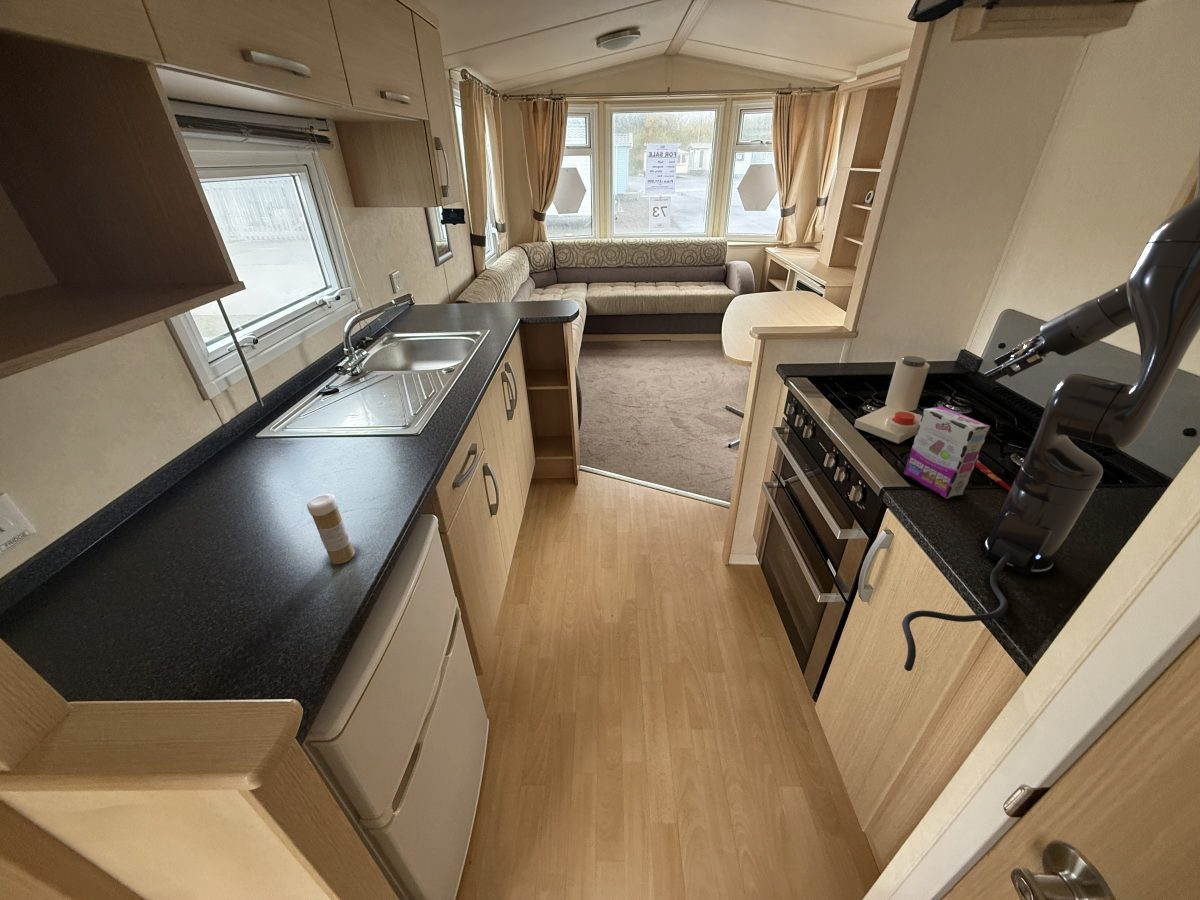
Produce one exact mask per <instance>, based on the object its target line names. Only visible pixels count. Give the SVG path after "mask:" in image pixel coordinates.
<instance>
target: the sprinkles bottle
mask: <svg viewBox="0 0 1200 900" xmlns="http://www.w3.org/2000/svg"><path fill="white" fill-rule="evenodd" d="M338 506H339V505H338V502H337V500H336V497H335V495H333V494H331V493H323V494H318V495H315V496H314V497H312V498H311V499H309V501H308V502H307V503H306V508H307V511H308V513H309V514H310V515H311V517H312V519H313V521H314V524H315V526H316V530H317V531H318V534H319V538H320V540H321V542H322V545H323V547H324V549H325V550H326V553H327V555H328V557H329V558H328V559H329V561H330V563H331V564H333V565H339V564H340V565H341V564H345V563H347V562H348V561H350V560H351V559H353V558H354V556H355V554H356V550H355V548H354V546H353V545H352V544H353V543H352V542H351V541H352V540H351V538H350V535H349V532H348V530H347V527H346V524H345V522H344V519H343V517H342V515H341V512H340V510H339V508H338Z"/></svg>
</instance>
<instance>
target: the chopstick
mask: <svg viewBox="0 0 1200 900" xmlns="http://www.w3.org/2000/svg"><path fill="white" fill-rule="evenodd" d="M974 468H976V469H977V470H979V471H980V472H982V473H983V474H984V475H986V476H987V477H988V478H990V479H991V480H993V481H994V482H995V483H997V484H998V485H999V486H1000V487H1002V488H1004V489H1005V490H1006V491H1007V492H1009V491H1010V489H1011V487H1012V486H1010V485H1009V484H1007V483H1006V482H1005V481H1004V480H1002V479H1001V478H1000V477H999V476H998V475H997V474H995V473H994V472H993V471H991V469H989V468H988V467H987V466H986V465H985V464H983V463H982V462H981V461H980V460H979V459H977V461H976V464H975V466H974Z"/></svg>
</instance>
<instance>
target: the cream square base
mask: <svg viewBox="0 0 1200 900" xmlns="http://www.w3.org/2000/svg"><path fill="white" fill-rule="evenodd" d="M896 412H908V413H911V414H913V415H914V416H915V418H914V421H913V424H912V425H900V424H898V423H895V422H894V421H893V419H894V416H895V413H896ZM922 415H923V414H922ZM922 415H921V414H918V413H915V412H913V411H901V410H896V409H893V408H890V407H888V406H887V405H885V406H883V407H881V408H879V409H876V410H874V411H871V412H870V413H868V414H865V415H863V416H861V417H859V418H857V419H855V420H854V425H853V427H854V428H856V429H859V430H860V431H864V432H867V433H869V434H872V435H874V436H877V437H880V438H882V439H885V440H887V441H890V442H892V443H895V444H901V443H902V442H904V441H906V440H908V439H910V438H912V437H915V436H916V434H917V430H918V427H919V424H920V421H921V418H922Z"/></svg>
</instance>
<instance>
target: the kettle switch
mask: <svg viewBox="0 0 1200 900" xmlns="http://www.w3.org/2000/svg"><path fill="white" fill-rule="evenodd" d="M914 418H915V416H914V415H913V414H911V413H908V412H896V413H895V416H894V419H893V421H894V422H895V423H898V424H900V425H912V424H913V421H914Z"/></svg>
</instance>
